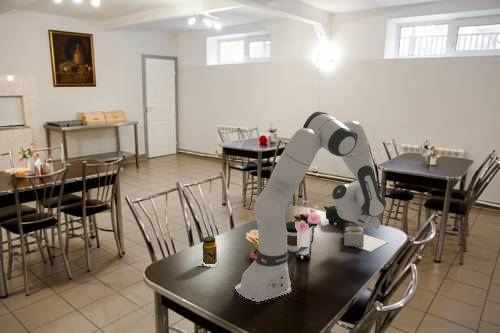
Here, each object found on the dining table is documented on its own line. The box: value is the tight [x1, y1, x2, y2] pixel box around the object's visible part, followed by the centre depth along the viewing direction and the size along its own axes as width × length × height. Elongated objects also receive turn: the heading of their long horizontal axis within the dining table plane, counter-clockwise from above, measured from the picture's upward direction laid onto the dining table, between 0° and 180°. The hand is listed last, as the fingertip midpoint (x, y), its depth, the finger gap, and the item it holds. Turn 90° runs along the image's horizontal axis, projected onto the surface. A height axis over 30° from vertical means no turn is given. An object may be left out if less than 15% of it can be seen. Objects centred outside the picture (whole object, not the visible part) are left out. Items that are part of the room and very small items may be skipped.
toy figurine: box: [323, 205, 354, 232], centre depth 201 cm, size 9×19×25 cm
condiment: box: [202, 235, 218, 264], centre depth 161 cm, size 7×8×12 cm
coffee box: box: [343, 223, 365, 247], centre depth 184 cm, size 9×6×16 cm
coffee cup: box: [286, 221, 298, 253], centre depth 175 cm, size 11×11×12 cm
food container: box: [311, 225, 317, 243], centre depth 186 cm, size 12×6×10 cm, turn 179°
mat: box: [354, 234, 389, 253], centre depth 182 cm, size 16×13×1 cm
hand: (363, 226), depth 174 cm, fingers closed
